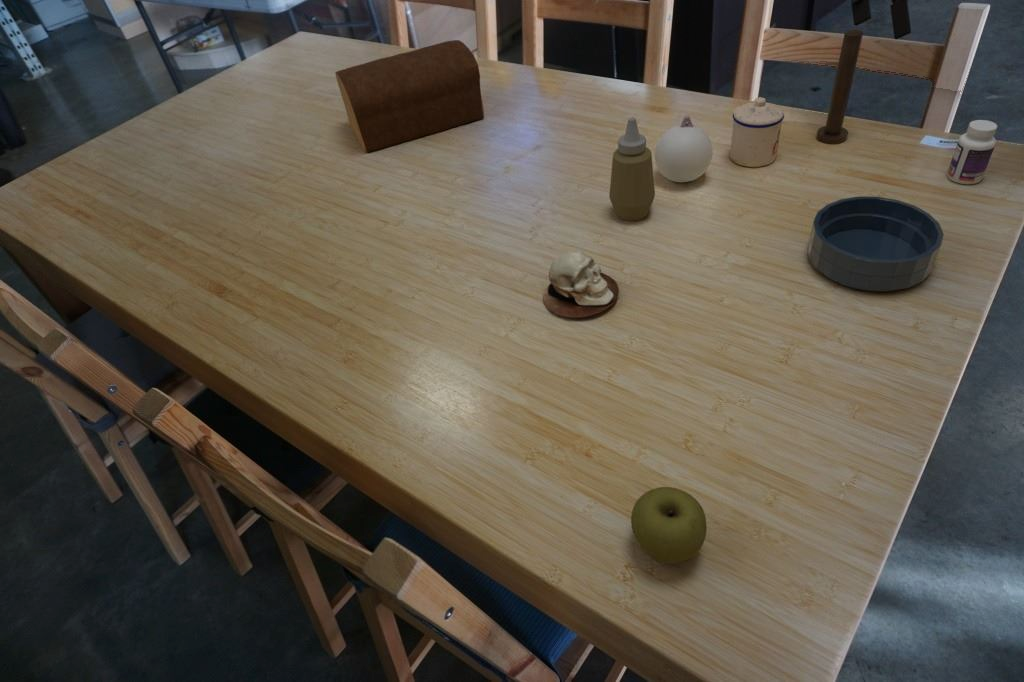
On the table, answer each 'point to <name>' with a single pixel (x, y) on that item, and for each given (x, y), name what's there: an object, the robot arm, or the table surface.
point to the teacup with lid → (756, 133)
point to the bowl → (874, 243)
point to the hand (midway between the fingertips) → (883, 29)
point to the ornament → (683, 152)
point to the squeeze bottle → (632, 175)
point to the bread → (411, 94)
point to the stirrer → (841, 90)
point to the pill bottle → (973, 153)
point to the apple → (668, 524)
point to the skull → (578, 286)
